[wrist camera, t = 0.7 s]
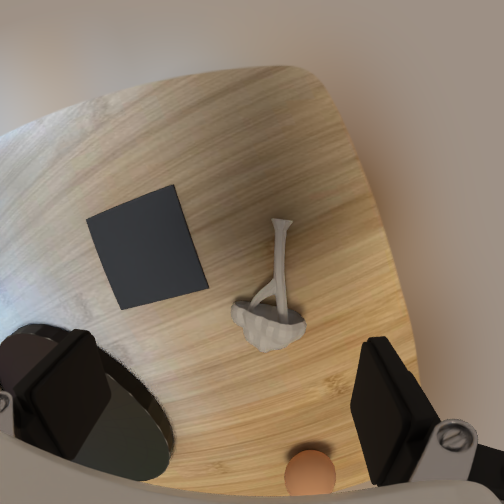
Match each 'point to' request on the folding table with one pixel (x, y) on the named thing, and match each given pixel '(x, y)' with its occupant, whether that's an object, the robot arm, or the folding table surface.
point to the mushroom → (271, 317)
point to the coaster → (147, 249)
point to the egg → (310, 474)
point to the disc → (113, 417)
